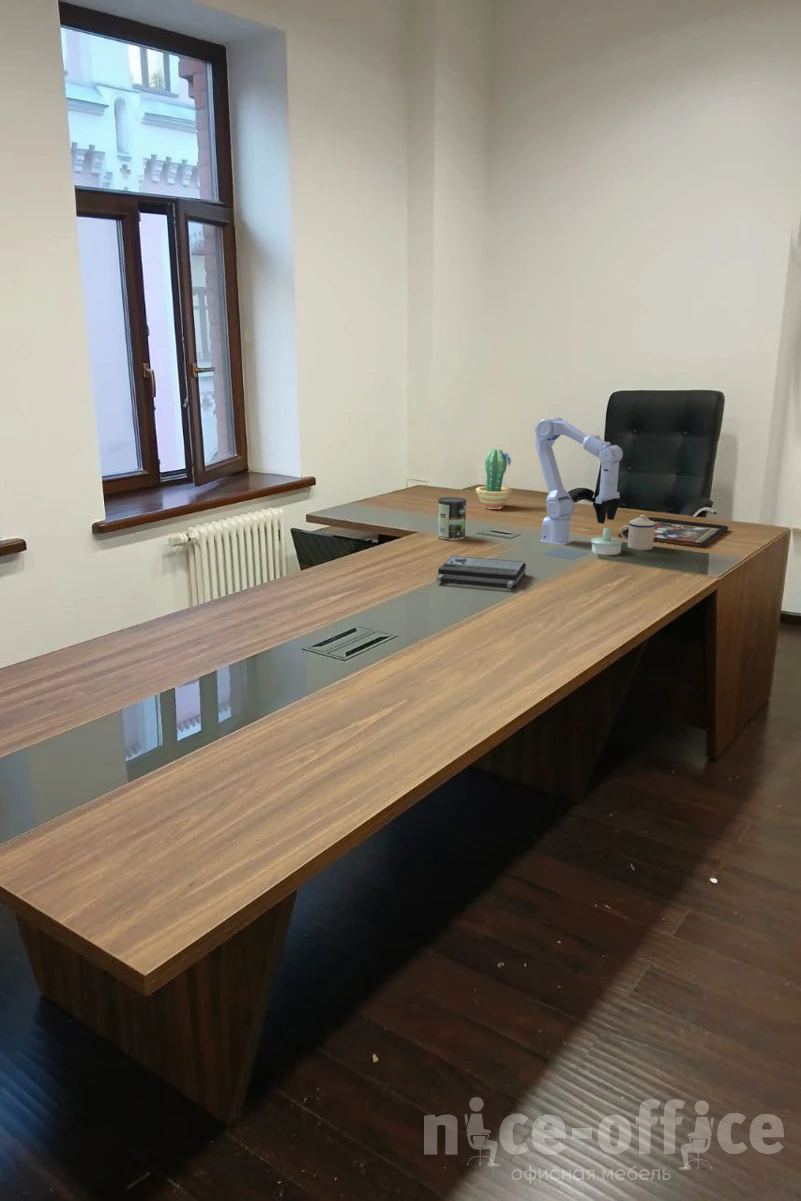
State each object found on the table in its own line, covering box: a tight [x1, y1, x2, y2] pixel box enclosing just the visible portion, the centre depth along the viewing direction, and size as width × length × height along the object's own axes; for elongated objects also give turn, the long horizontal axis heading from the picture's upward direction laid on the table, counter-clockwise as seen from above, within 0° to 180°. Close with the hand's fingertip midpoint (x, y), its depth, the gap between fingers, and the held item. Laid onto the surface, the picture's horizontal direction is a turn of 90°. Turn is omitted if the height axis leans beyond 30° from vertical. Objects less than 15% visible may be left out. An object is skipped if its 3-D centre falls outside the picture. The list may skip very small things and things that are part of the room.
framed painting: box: [618, 516, 729, 549], centre depth 335 cm, size 38×35×3 cm
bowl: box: [591, 543, 622, 556], centre depth 306 cm, size 9×9×4 cm
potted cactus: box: [475, 448, 513, 508], centre depth 379 cm, size 15×15×25 cm
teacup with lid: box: [619, 514, 655, 551], centre depth 313 cm, size 12×9×12 cm
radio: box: [436, 555, 527, 589], centre depth 273 cm, size 24×5×20 cm
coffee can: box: [437, 496, 467, 539], centre depth 326 cm, size 10×10×14 cm
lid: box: [590, 527, 623, 546], centre depth 305 cm, size 10×10×5 cm
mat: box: [541, 547, 590, 560], centre depth 304 cm, size 12×12×1 cm
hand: (605, 521), depth 307 cm, fingers open, 7 cm apart
